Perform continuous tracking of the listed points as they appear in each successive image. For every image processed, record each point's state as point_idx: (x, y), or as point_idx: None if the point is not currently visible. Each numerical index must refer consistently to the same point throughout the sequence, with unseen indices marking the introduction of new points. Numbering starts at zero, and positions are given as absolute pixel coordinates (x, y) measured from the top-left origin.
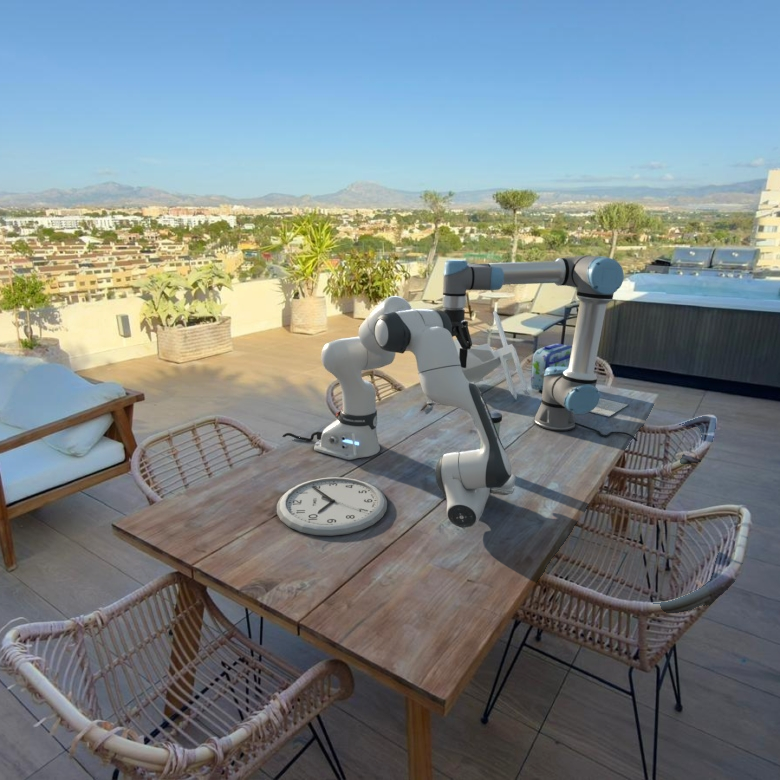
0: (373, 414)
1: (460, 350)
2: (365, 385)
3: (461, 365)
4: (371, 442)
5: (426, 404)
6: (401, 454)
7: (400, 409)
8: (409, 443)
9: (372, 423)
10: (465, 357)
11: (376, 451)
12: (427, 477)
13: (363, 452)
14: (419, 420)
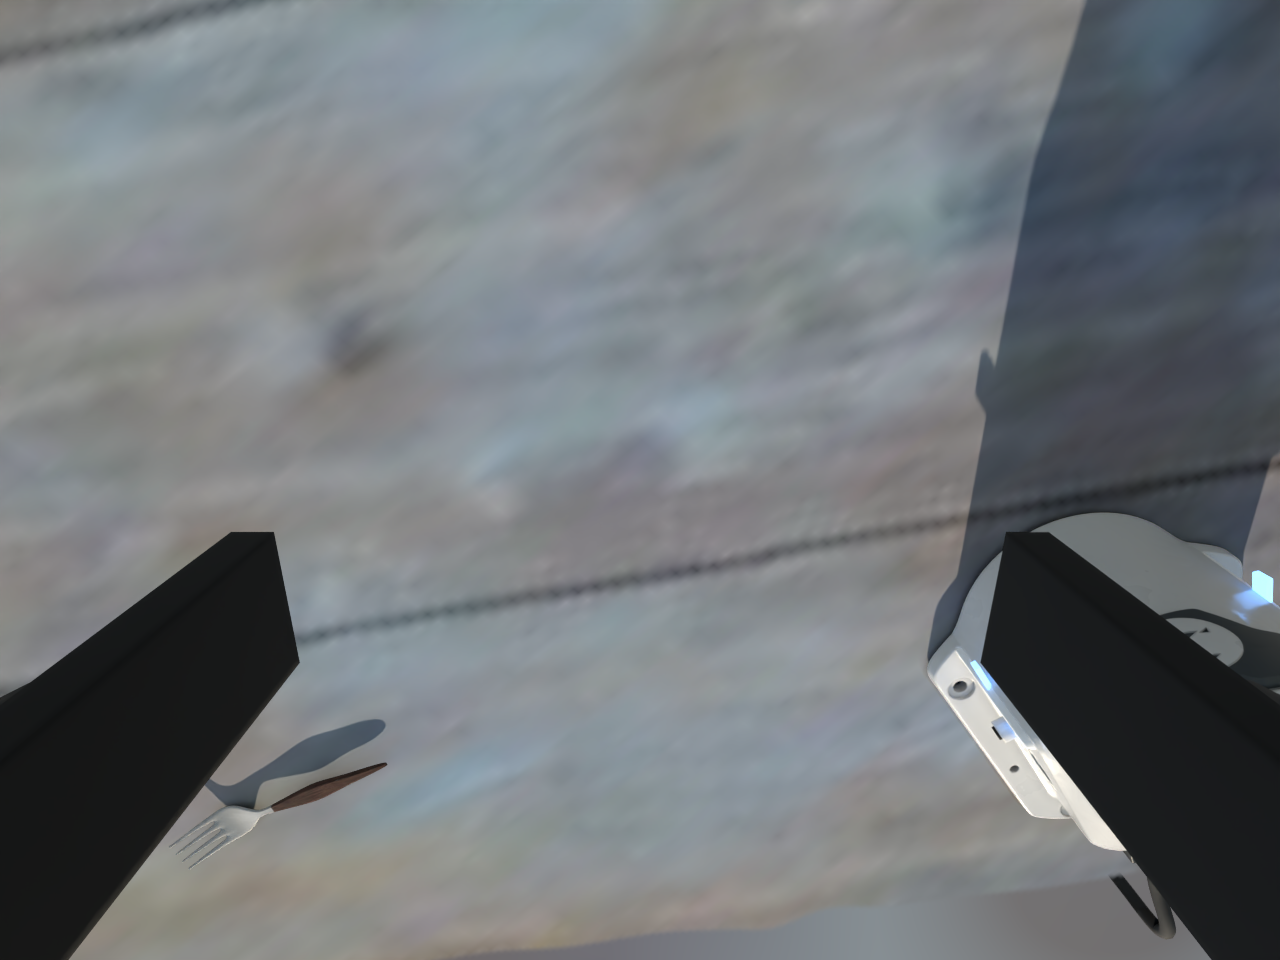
0: (1278, 675)
1: (43, 952)
2: None
3: (270, 625)
4: (1148, 560)
5: (285, 804)
6: (984, 417)
7: (456, 847)
8: (819, 493)
9: (1234, 631)
10: (124, 656)
11: (1078, 522)
12: (1180, 67)
13: (1175, 542)
14: (495, 681)
